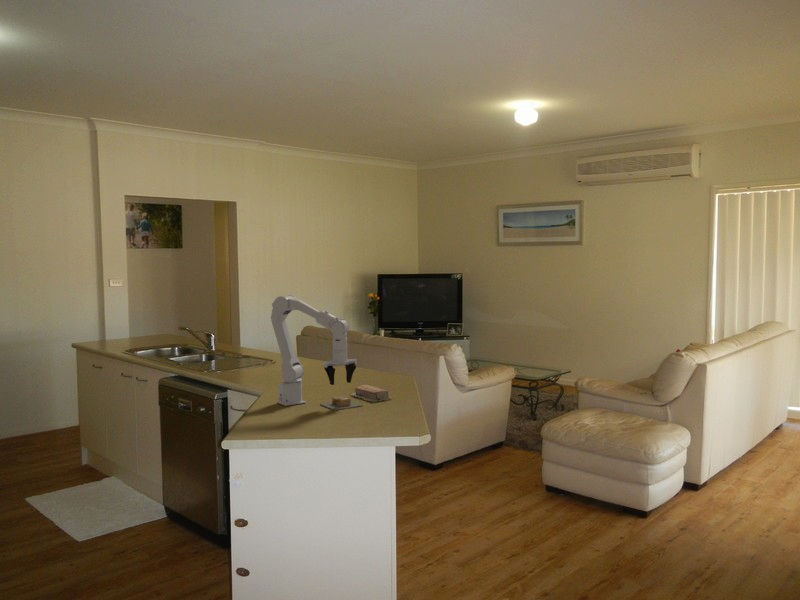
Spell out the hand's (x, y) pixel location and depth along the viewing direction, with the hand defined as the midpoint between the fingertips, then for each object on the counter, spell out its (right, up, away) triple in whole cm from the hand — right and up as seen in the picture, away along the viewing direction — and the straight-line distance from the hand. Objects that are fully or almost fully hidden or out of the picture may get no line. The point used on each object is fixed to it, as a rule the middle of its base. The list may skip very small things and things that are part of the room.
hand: (340, 383), depth 262 cm
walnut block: (0, -9, 0) cm, 9 cm away
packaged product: (+12, -9, +16) cm, 21 cm away
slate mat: (0, -9, 0) cm, 9 cm away
